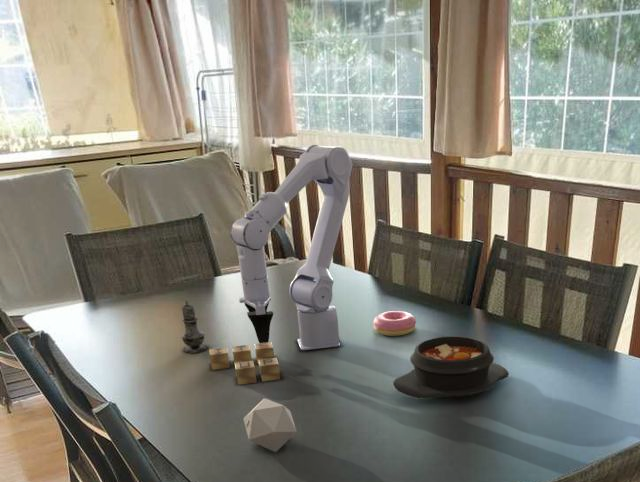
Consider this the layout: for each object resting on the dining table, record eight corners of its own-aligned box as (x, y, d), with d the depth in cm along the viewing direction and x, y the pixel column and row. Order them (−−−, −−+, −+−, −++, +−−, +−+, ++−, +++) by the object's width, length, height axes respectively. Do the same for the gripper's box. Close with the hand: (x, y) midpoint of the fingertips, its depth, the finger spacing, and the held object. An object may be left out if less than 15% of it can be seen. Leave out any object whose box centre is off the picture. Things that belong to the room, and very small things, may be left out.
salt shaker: (201, 353, 168) (192, 304, 161) (179, 352, 169) (169, 304, 162) (211, 345, 173) (202, 297, 166) (189, 344, 174) (180, 297, 167)
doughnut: (366, 335, 174) (365, 319, 171) (382, 322, 182) (382, 306, 180) (407, 339, 170) (407, 323, 168) (421, 325, 178) (421, 309, 176)
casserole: (422, 416, 132) (422, 375, 128) (377, 384, 146) (375, 346, 142) (527, 388, 142) (530, 348, 137) (475, 361, 156) (476, 324, 151)
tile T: (251, 359, 163) (249, 344, 161) (252, 365, 160) (250, 349, 158) (234, 361, 162) (231, 346, 160) (235, 367, 159) (232, 352, 157)
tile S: (273, 356, 164) (271, 341, 162) (274, 362, 161) (273, 347, 159) (256, 358, 163) (254, 343, 161) (257, 364, 160) (255, 349, 158)
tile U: (255, 375, 154) (252, 360, 152) (256, 382, 150) (254, 366, 149) (237, 378, 153) (234, 362, 151) (238, 384, 150) (235, 368, 148)
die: (261, 434, 130) (228, 406, 122) (300, 410, 128) (269, 380, 120) (270, 468, 125) (237, 441, 117) (310, 443, 123) (279, 414, 115)
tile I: (229, 361, 162) (226, 346, 160) (230, 367, 159) (227, 352, 157) (211, 364, 161) (209, 349, 159) (212, 370, 158) (209, 354, 156)
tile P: (278, 373, 155) (276, 357, 153) (280, 379, 151) (278, 363, 149) (260, 375, 154) (258, 359, 152) (262, 381, 151) (260, 365, 149)
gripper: (234, 271, 157) (242, 329, 164) (238, 287, 145) (247, 349, 152) (265, 268, 158) (272, 326, 165) (271, 283, 146) (279, 345, 153)
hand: (262, 337), depth 159 cm, fingers open, 7 cm apart
